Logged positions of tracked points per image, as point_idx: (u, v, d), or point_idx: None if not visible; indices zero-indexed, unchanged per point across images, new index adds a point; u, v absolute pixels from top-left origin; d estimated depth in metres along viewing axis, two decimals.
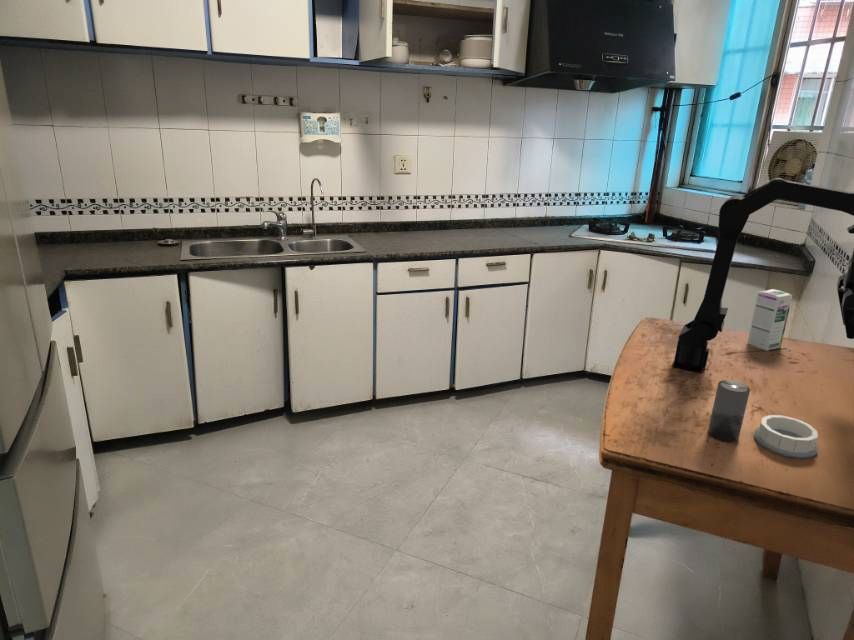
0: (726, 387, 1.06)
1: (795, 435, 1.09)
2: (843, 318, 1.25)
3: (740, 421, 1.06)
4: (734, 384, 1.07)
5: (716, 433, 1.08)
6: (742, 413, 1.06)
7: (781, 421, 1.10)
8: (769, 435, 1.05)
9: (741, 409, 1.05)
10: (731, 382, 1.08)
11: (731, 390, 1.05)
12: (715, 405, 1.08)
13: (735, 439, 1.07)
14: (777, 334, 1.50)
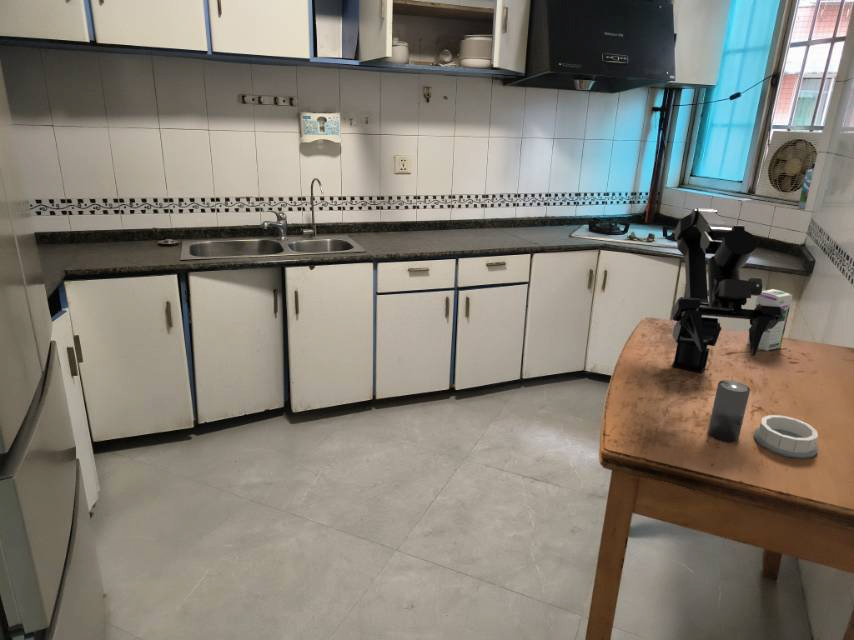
0: (726, 387, 1.06)
1: (795, 435, 1.09)
2: (750, 350, 1.13)
3: (740, 421, 1.06)
4: (734, 384, 1.07)
5: (716, 433, 1.08)
6: (742, 413, 1.06)
7: (781, 421, 1.10)
8: (769, 435, 1.05)
9: (741, 409, 1.05)
10: (731, 382, 1.08)
11: (731, 390, 1.05)
12: (715, 405, 1.08)
13: (735, 439, 1.07)
14: (777, 334, 1.50)
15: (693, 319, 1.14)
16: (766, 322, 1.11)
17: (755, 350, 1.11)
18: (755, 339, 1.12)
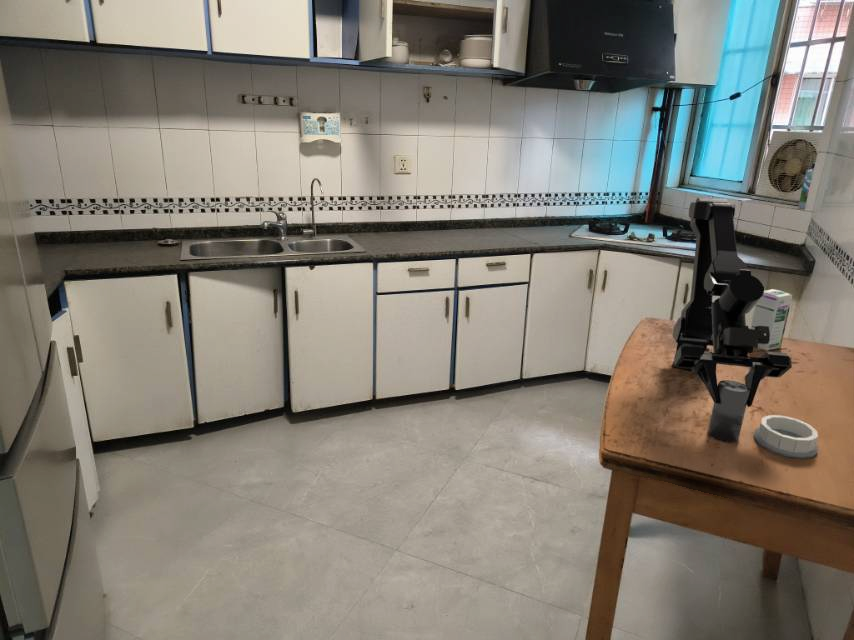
0: (726, 387, 1.06)
1: (795, 435, 1.09)
2: None
3: (740, 421, 1.06)
4: (734, 384, 1.07)
5: (716, 433, 1.08)
6: (742, 413, 1.06)
7: (781, 421, 1.10)
8: (769, 435, 1.05)
9: (741, 409, 1.05)
10: (731, 382, 1.08)
11: (731, 390, 1.05)
12: (715, 405, 1.08)
13: (735, 439, 1.07)
14: (777, 334, 1.50)
15: (707, 369, 1.08)
16: (763, 371, 1.06)
17: (751, 401, 1.05)
18: (751, 389, 1.06)
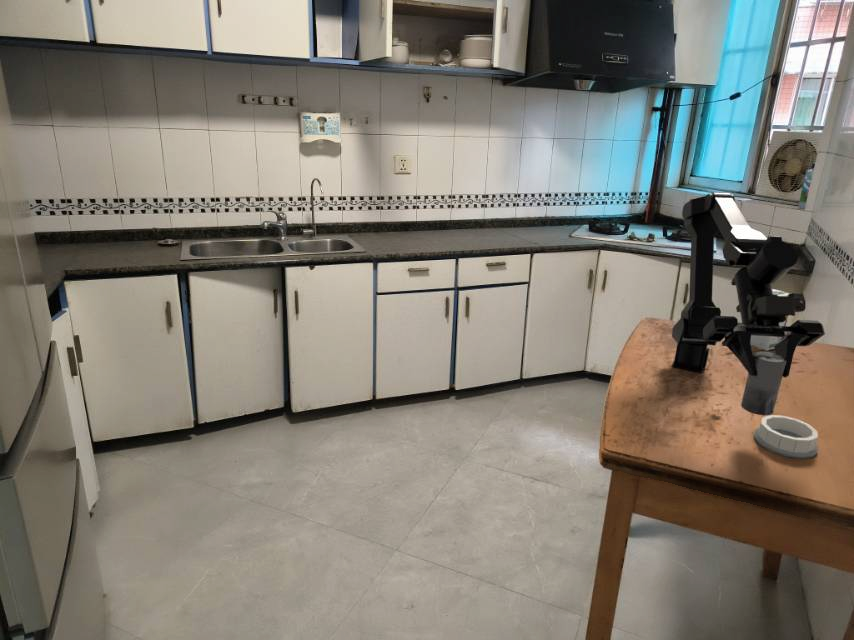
0: (763, 358, 1.02)
1: (795, 435, 1.09)
2: None
3: (777, 392, 1.03)
4: (769, 355, 1.03)
5: (752, 406, 1.04)
6: (779, 384, 1.02)
7: (781, 421, 1.10)
8: (769, 435, 1.05)
9: (779, 380, 1.02)
10: (765, 353, 1.04)
11: (769, 361, 1.01)
12: (750, 377, 1.04)
13: (771, 411, 1.04)
14: None
15: (741, 340, 1.04)
16: (797, 340, 1.03)
17: (788, 371, 1.02)
18: (787, 359, 1.03)
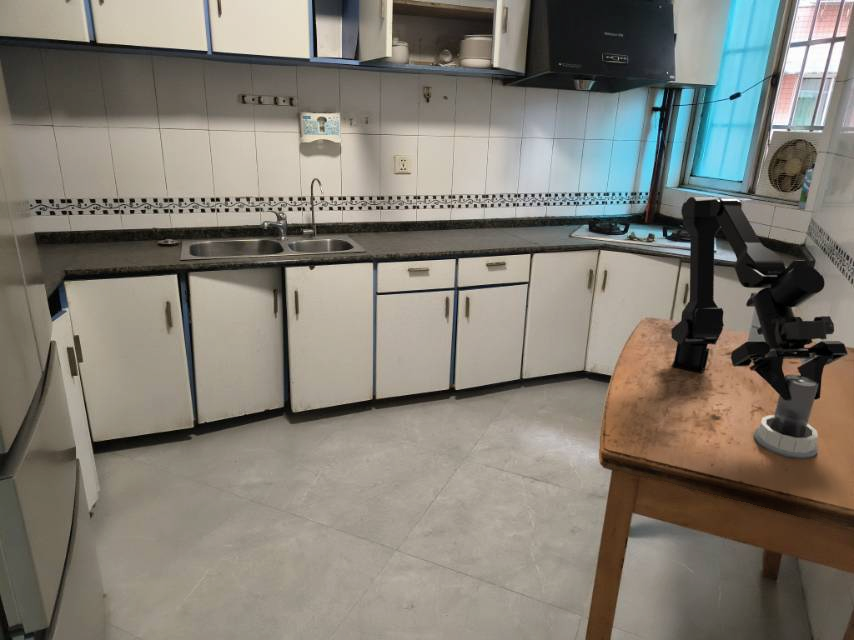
0: (797, 382, 1.02)
1: None
2: None
3: (809, 415, 1.04)
4: (800, 378, 1.04)
5: (786, 430, 1.05)
6: (811, 407, 1.03)
7: None
8: (769, 435, 1.05)
9: (812, 403, 1.03)
10: (795, 376, 1.05)
11: (804, 385, 1.02)
12: (784, 402, 1.04)
13: None
14: None
15: (774, 366, 1.04)
16: (825, 361, 1.04)
17: (819, 393, 1.03)
18: (816, 381, 1.04)
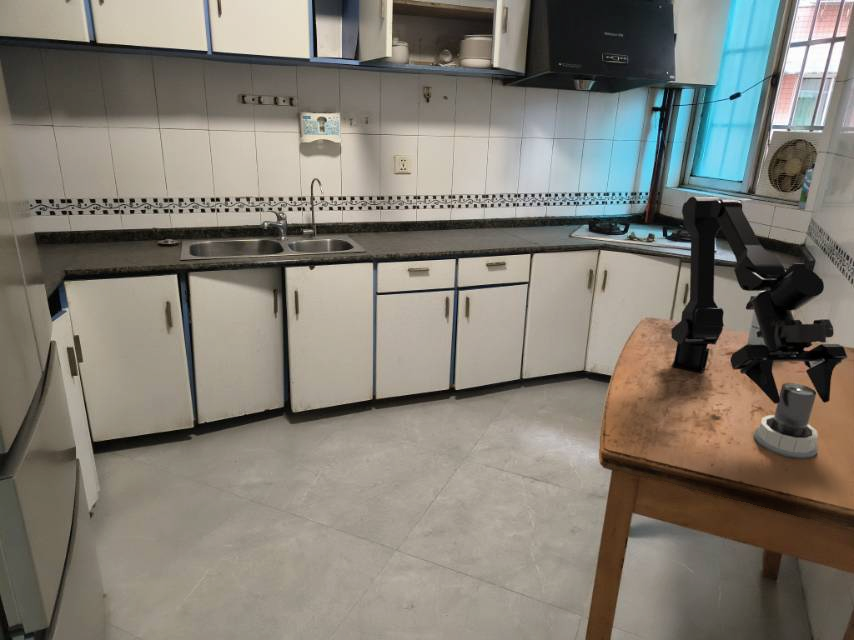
0: (794, 391, 1.03)
1: None
2: (819, 395, 1.05)
3: (807, 424, 1.04)
4: (797, 387, 1.05)
5: None
6: (809, 415, 1.04)
7: None
8: (769, 435, 1.05)
9: (810, 412, 1.03)
10: (793, 385, 1.05)
11: (801, 394, 1.02)
12: (782, 410, 1.05)
13: None
14: None
15: (764, 369, 1.03)
16: (834, 364, 1.04)
17: (828, 396, 1.03)
18: (825, 384, 1.04)
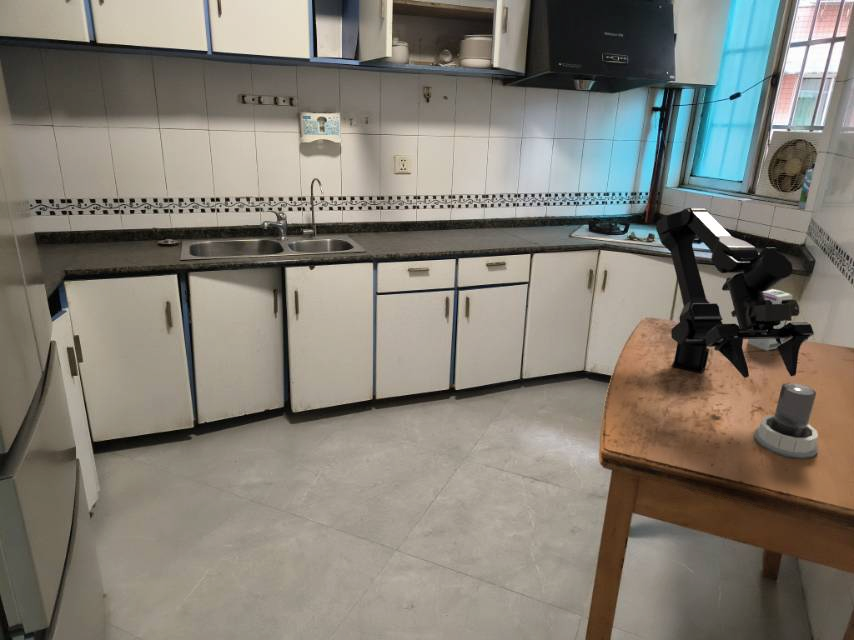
0: (794, 391, 1.03)
1: None
2: (787, 370, 1.13)
3: (807, 424, 1.04)
4: (797, 387, 1.05)
5: None
6: (809, 415, 1.04)
7: None
8: (769, 435, 1.05)
9: (810, 412, 1.03)
10: (793, 385, 1.05)
11: (801, 394, 1.02)
12: (782, 411, 1.05)
13: None
14: None
15: (734, 346, 1.12)
16: (801, 341, 1.12)
17: (795, 370, 1.12)
18: (793, 359, 1.12)
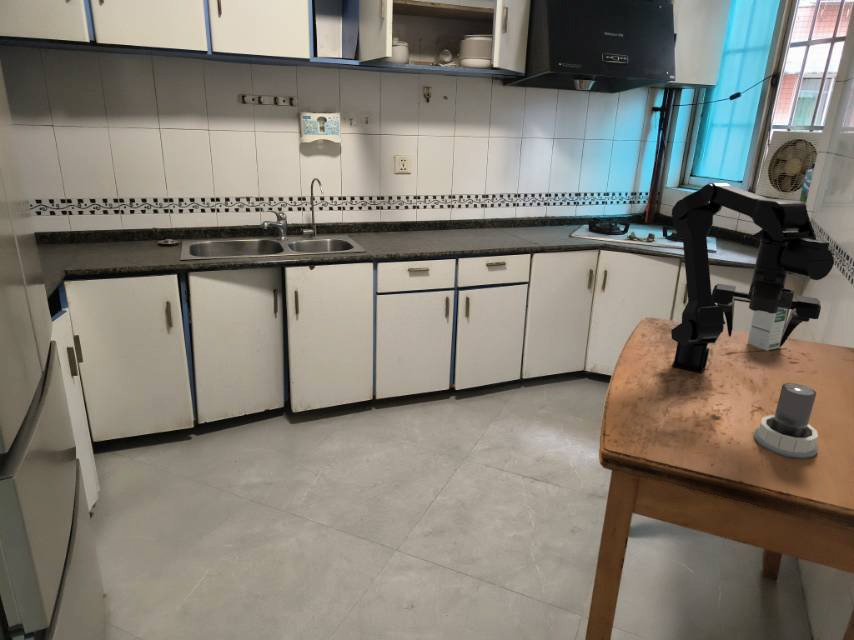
0: (795, 391, 1.03)
1: None
2: (781, 337, 1.18)
3: (807, 424, 1.04)
4: (798, 387, 1.05)
5: None
6: (809, 415, 1.04)
7: None
8: (769, 435, 1.05)
9: (810, 412, 1.03)
10: (793, 385, 1.05)
11: (802, 394, 1.02)
12: (782, 411, 1.05)
13: None
14: (777, 334, 1.50)
15: (724, 311, 1.20)
16: (799, 322, 1.13)
17: (782, 343, 1.17)
18: (784, 333, 1.16)
